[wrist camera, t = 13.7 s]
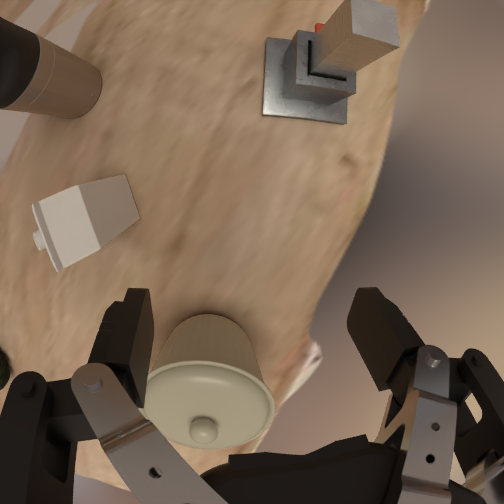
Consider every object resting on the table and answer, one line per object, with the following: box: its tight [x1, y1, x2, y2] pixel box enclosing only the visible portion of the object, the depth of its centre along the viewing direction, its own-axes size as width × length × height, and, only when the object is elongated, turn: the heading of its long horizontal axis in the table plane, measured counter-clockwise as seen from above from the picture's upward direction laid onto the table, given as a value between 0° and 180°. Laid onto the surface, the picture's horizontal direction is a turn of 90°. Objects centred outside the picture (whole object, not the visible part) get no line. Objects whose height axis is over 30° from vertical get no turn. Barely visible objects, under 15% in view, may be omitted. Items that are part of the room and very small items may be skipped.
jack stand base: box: [262, 23, 356, 125], centre depth 32 cm, size 12×12×10 cm
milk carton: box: [32, 174, 140, 273], centre depth 32 cm, size 7×7×19 cm
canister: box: [138, 314, 275, 449], centre depth 39 cm, size 18×18×21 cm
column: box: [307, 0, 400, 81], centre depth 23 cm, size 4×4×16 cm
